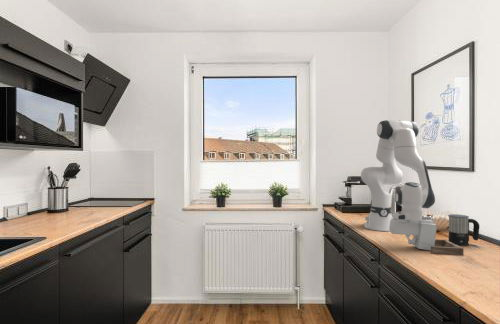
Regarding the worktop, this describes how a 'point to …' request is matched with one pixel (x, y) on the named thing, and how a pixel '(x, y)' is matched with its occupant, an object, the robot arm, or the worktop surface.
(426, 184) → the robot arm
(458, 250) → the walnut corral
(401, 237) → the worktop surface
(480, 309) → the worktop surface
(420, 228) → the supplement box
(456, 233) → the milk frother
